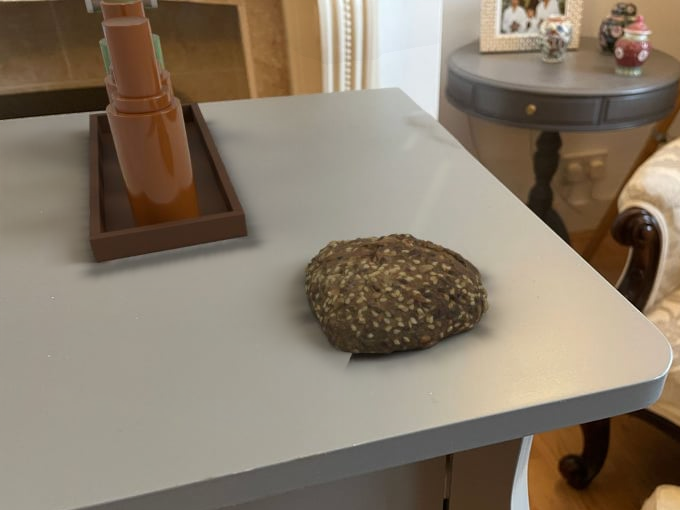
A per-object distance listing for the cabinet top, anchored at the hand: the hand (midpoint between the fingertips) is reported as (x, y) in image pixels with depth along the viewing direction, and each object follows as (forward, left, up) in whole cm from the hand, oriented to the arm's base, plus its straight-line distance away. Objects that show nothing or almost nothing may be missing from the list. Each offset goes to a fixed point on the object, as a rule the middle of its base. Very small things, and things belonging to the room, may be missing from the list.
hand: (122, 9), depth 60 cm
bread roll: (+31, -19, -15) cm, 39 cm away
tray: (+4, -5, -14) cm, 16 cm away
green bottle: (0, 0, -13) cm, 13 cm away
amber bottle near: (+9, -13, -14) cm, 21 cm away
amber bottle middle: (+5, -7, -14) cm, 16 cm away
